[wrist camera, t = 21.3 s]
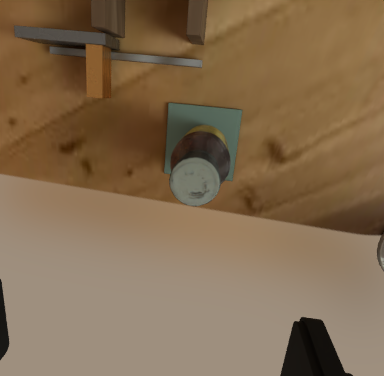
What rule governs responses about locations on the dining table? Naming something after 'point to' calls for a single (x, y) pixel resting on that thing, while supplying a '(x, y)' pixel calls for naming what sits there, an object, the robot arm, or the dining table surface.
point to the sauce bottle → (199, 165)
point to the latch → (95, 53)
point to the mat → (202, 115)
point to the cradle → (115, 26)
